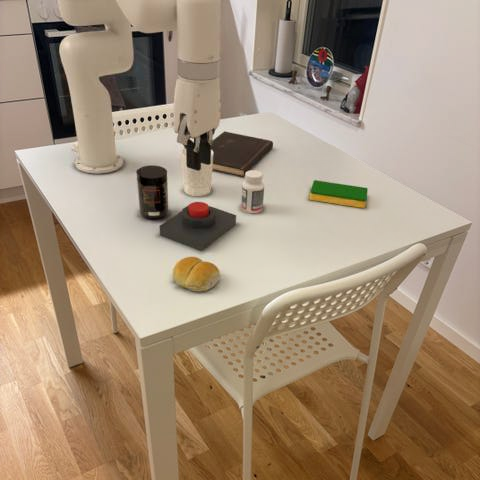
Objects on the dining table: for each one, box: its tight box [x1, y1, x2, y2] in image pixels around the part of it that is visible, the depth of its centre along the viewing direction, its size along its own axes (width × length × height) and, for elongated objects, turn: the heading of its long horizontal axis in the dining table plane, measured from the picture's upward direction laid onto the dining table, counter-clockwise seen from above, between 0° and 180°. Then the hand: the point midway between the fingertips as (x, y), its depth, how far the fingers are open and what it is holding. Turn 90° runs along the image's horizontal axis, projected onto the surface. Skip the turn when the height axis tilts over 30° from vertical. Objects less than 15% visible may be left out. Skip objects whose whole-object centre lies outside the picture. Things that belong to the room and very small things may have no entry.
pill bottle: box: [240, 169, 265, 214], centre depth 121 cm, size 5×5×9 cm
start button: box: [188, 201, 210, 218], centre depth 112 cm, size 4×4×2 cm
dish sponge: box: [309, 179, 368, 209], centre depth 130 cm, size 7×14×2 cm, turn 76°
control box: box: [159, 205, 237, 252], centre depth 114 cm, size 11×14×4 cm
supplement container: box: [135, 165, 170, 221], centre depth 116 cm, size 7×7×10 cm
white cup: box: [180, 147, 214, 197], centre depth 127 cm, size 8×8×10 cm
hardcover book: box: [211, 131, 274, 178], centre depth 147 cm, size 16×23×2 cm
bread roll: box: [172, 256, 221, 292], centre depth 99 cm, size 8×9×4 cm
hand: (198, 165), depth 105 cm, fingers closed
